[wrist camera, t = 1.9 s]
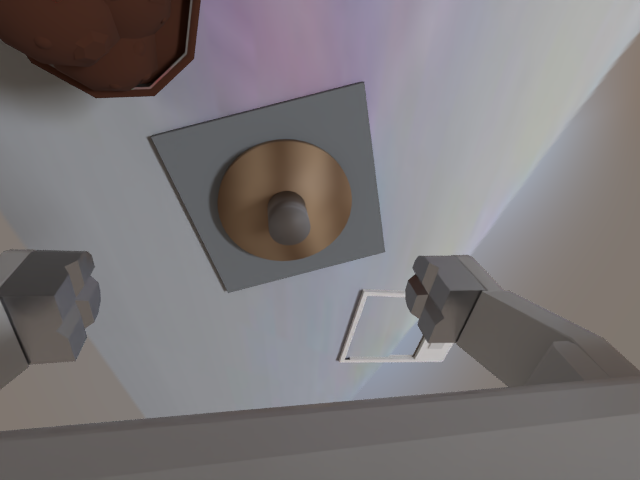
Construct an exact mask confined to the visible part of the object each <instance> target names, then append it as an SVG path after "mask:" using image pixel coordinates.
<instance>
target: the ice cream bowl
mask: <svg viewBox="0 0 640 480" xmlns="http://www.w3.org/2000/svg"><path fill="white" fill-rule="evenodd" d="M200 2H201V0H0V39H1V40H2V41H3V42H4V43H6V44H8V45H10V46H11V47H13V48H15V49H17V50H19V51H21V52H22V53H24V54H25V55H26V56H27V57H28V59H29V60H30V61H31V63H33V64H35V65H36V66H38V67H40V68H42V69H44V70H46V71H47V72H49V73H51V74H53V75H55V76H57V77H58V78H60V79H62V80H64V81H66V82H68V83H69V84H71V85H73V86H75V87H77V88H79V89H80V90H82V91H84V92H86V93H88V94H90V95H91V96H93V97H95V98H113V97H141V96H155V95H156V94H157V93H158V92H159V91H160V90H162V89H163V88H164V87H165V86H166V85H167V84H168V83H169V82H170V81H171V80H172V79H173V78H174V77H175V76H176V75H177V74H178V73H179V72H181V71H182V70H183V69H184V68H185V67H186V66H187V65H188V64H189V63H190V62H191V61H192V60H193V59H194V53H195V45H196V36H197V27H198V19H199V10H200Z"/></svg>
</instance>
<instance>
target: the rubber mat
mask: <svg viewBox="0 0 640 480" xmlns="http://www.w3.org/2000/svg"><path fill="white" fill-rule="evenodd" d="M151 138H152V140H153V142H154V144H155V146H156V148H157V150H158V152H159V154H160V157H161V159H162V161H163V163H164V165H165V167H166V169H167V171H168V173H169V175H170V177H171V179H172V181H173V183H174V185H175V187H176V189H177V191H178V193H179V195H180V197H181V199H182V201H183V203H184V205H185V207H186V209H187V211H188V213H189V215H190V217H191V219H192V221H193V223H194V225H195V227H196V229H197V231H198V233H199V235H200V237H201V239H202V241H203V243H204V245H205V247H206V249H207V251H208V253H209V255H210V257H211V259H212V261H213V263H214V265H215V267H216V269H217V271H218V273H219V275H220V277H221V279H222V281H223V283H224V285H225V287H226V289H227V291H228V293H230V292H233V291H237V290H241V289H245V288H249V287H253V286H256V285H260V284H264V283H268V282H272V281H276V280H279V279H283V278H287V277H291V276H295V275H299V274H302V273H306V272H310V271H314V270H318V269H322V268H325V267H329V266H333V265H337V264H341V263H345V262H348V261H352V260H356V259H360V258H364V257H368V256H371V255H375V254H379V253H383V252H385V248H384V240H383V232H382V224H381V215H380V207H379V199H378V191H377V183H376V175H375V167H374V158H373V150H372V142H371V134H370V126H369V118H368V109H367V101H366V93H365V85H364V82H359V83H355V84H351V85H347V86H343V87H339V88H335V89H331V90H328V91H324V92H320V93H316V94H312V95H308V96H304V97H300V98H296V99H292V100H288V101H285V102H281V103H277V104H273V105H269V106H265V107H261V108H257V109H253V110H249V111H246V112H242V113H238V114H234V115H230V116H226V117H222V118H218V119H214V120H210V121H207V122H203V123H199V124H195V125H191V126H187V127H183V128H179V129H175V130H171V131H168V132H164V133H160V134H156V135H152V136H151ZM277 139H294V140H300V141H305V142H308V143H311V144H313V145H315V146H317V147H319V148H321V149H323V150H324V151H326V152H327V153H329V154H330V155H331V156H332V157H333V158H334V159H335V160H336V161H337V162H338V164H339V165H340V166H341V168H342V169H343V171H344V173H345V175H346V177H347V179H348V182H349V184H350V188H351V194H352V207H351V212H350V216H349V219H348V221H347V224H346V226H345V228H344V229H343V231H342V232H341V234H340V235H339V236H338V237H337V238H336V239H335V240H334V241H333V242H332V243H331V244H330V245H329V246H327V247H326V248H325V249H323V250H321V251H320V252H318V253H316V254H314V255H311V256H309V257H306V258H303V259H298V260H291V261H274V260H268V259H263V258H260V257H257V256H255V255H253V254H250V253H248V252H247V251H245V250H243V249H242V248H241V247H239V246H238V245H237V244H236V243H235V242H234V241H233V240H232V239H231V238H230V237H229V235H228V234H227V233H226V231H225V229H224V228H223V226H222V223H221V221H220V218H219V213H218V193H219V188H220V184H221V181H222V179H223V176H224V174H225V172H226V171H227V169H228V168H229V166H230V165H231V164H232V163H233V161H234V160H235V159H236V158H237V157H239V156H240V155H241V154H242V153H243V152H245V151H246V150H248V149H249V148H252V147H254V146H256V145H258V144H261V143H264V142H267V141H272V140H277Z"/></svg>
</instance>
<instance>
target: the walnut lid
mask: <svg viewBox="0 0 640 480" xmlns="http://www.w3.org/2000/svg"><path fill="white" fill-rule="evenodd" d="M351 207H352V194H351V188H350V184H349V182H348V179H347V177H346V175H345V173H344V171H343V169H342V168H341V166H340V165H339V164H338V162H337V161H336V160H335V159H334V158H333V157H332V156H331V155H330V154H329V153H327V152H326V151H324V150H323V149H321V148H319V147H317V146H315V145H313V144H311V143H308V142H305V141H300V140H294V139H277V140H272V141H267V142H264V143H261V144H258V145H256V146H254V147H252V148H249V149H248V150H246V151H245V152H243V153H242V154H241V155H240V156H239V157H237V158H236V159H235V160H234V161H233V163H232V164H231V165H230V166H229V168H228V169H227V171H226V172H225V174H224V176H223V179H222V181H221V184H220V188H219V193H218V213H219V218H220V221H221V223H222V226H223V228H224V229H225V231H226V233H227V234H228V235H229V237H230V238H231V239H232V240H233V241H234V242H235V243H236V244H237V245H238V246H239V247H241V248H242V249H243V250H245V251H247V252H248V253H250V254H253V255H255V256H257V257H260V258H263V259H268V260H274V261H291V260H298V259H303V258H306V257H309V256H311V255H314V254H316V253H318V252H320V251H321V250H323V249H325V248H326V247H327V246H329V245H330V244H331V243H332V242H333V241H334V240H335V239H336V238H337V237H338V236H339V235H340V234H341V232H342V231H343V229H344V228H345V226H346V224H347V221H348V219H349V216H350V212H351Z"/></svg>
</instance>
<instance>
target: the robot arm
mask: <svg viewBox="0 0 640 480" xmlns="http://www.w3.org/2000/svg"><path fill="white" fill-rule="evenodd" d="M94 267H95V266H94V262H93V259H92V255H91V254H90V253H88V252H87V251H57V250H7V251H4V252H3V253H1V254H0V389H2V388H3V387H4V386H6V385H7V384H8V383H9V382H10V381H12V380H13V379H14V378H16V377H17V376H18V375H19V374H21V373H22V372H23V371H24V370H26V369H27V368H28V367H29V365H30V364H43V363H57V362H69V361H76V359H77V357H78V355H79V353H80V351H81V348H82V347H83V344H84V342H85V340H86V338H87V335H86V331H85V328H86V327H88V326H89V325H91V324H92V323H94V321H95V319H96V317H97V315H98V312H99V307H100V302H101V296H100V287H99V283H98V282H97V281H96V280H95V279H94V278H93V277H91V276H90V275H91V273H92V271H93V269H94ZM413 270H414V272H415V275H414V276H413V277H412V278H410V279H409V280H408V283H407V286H406V289H405V300H406V303H407V307H408V309H409V310H410V312H411V313H412V314H413V315H415V316H416V317H417V318H419V321H418V327H419V328H420V330H421V332H422V334H423V335H424V337H425V339H426V341H427V343H457V345H458V346H459V347H460V348H462V349H463V350H464V351H465V352H467V353H468V354H469V355H470V356H471V357H473V358H474V359H475V360H476V361H477V362H479V363H480V364H481V365H483V366H484V367H485V368H486V369H487V370H489V371H490V372H491V373H492V374H493V375H495V376H496V377H497V378H498V379H500V380H501V381H502V382H503V383H505V384H506V385H507V386H508V387H504V388H492V389H481V390H469V391H459V392H446V393H436V394H423V395H411V396H400V397H389V398H378V399H365V400H354V401H342V402H331V403H319V404H308V405H296V406H285V407H273V408H262V409H250V410H239V411H227V412H216V413H204V414H193V415H181V416H170V417H158V418H147V419H137V420H136V419H135V420H124V421H112V422H101V423H89V424H78V425H66V426H56V427H43V428H32V429H20V430H9V431H0V480H640V371H639V370H638V369H637V368H636V367H635V366H634V365H633V364H632V363H631V362H629V361H628V360H627V359H626V358H625V357H624V356H623V355H622V354H620V352H618V351H617V350H616V349H615V348H614V347H613V346H612V345H611V344H610V343H608V342H607V341H606V340H605V339H604V338H603V337H601V336H599V335H597V334H595V333H593V332H591V331H589V330H587V329H585V328H583V327H581V326H579V325H577V324H574V323H573V322H571V321H569V320H567V319H565V318H563V317H561V316H559V315H557V314H555V313H553V312H551V311H549V310H547V309H545V308H543V307H541V306H539V305H537V304H535V303H533V302H531V301H529V300H527V299H525V298H523V297H521V296H519V295H517V294H515V293H513V292H511V291H509V290H507V291H505V290H503V289H502V287H501V286H500V285H499V284H498V283H497V282H496V281H495V280H494V279H493V278H492V277H491V276H490V275H489V274H488V273H487V272H486V271H485V269H483V267H482V266H481V265H480V264H479V263H478V262H477V261H476V260H475V259H474V258H473V257H471V256H469V255H451V256H418V257H417V259H416V260H415V262H414V265H413Z"/></svg>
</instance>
